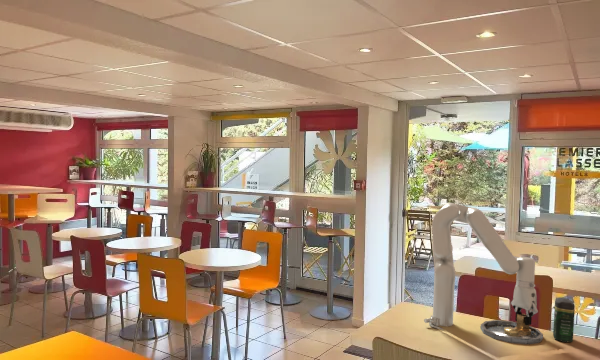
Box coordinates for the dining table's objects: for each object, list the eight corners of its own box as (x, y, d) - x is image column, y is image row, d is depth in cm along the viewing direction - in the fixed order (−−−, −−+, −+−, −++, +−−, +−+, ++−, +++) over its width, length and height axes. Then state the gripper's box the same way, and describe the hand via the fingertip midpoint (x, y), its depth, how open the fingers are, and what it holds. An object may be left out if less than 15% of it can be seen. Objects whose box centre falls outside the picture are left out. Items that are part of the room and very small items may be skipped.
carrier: (510, 350, 197) (511, 335, 197) (469, 330, 221) (470, 316, 221) (554, 344, 206) (555, 329, 206) (510, 325, 230) (511, 312, 230)
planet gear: (522, 335, 212) (523, 318, 212) (511, 330, 218) (512, 313, 218) (534, 334, 214) (534, 316, 214) (522, 329, 221) (523, 312, 221)
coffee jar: (574, 344, 207) (576, 303, 207) (554, 341, 210) (556, 300, 210) (570, 337, 216) (572, 297, 216) (551, 334, 219) (553, 295, 219)
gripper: (546, 288, 209) (544, 328, 210) (516, 279, 225) (515, 316, 226) (534, 289, 207) (532, 329, 207) (504, 280, 222) (503, 317, 223)
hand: (523, 322), depth 216 cm, fingers open, 5 cm apart
